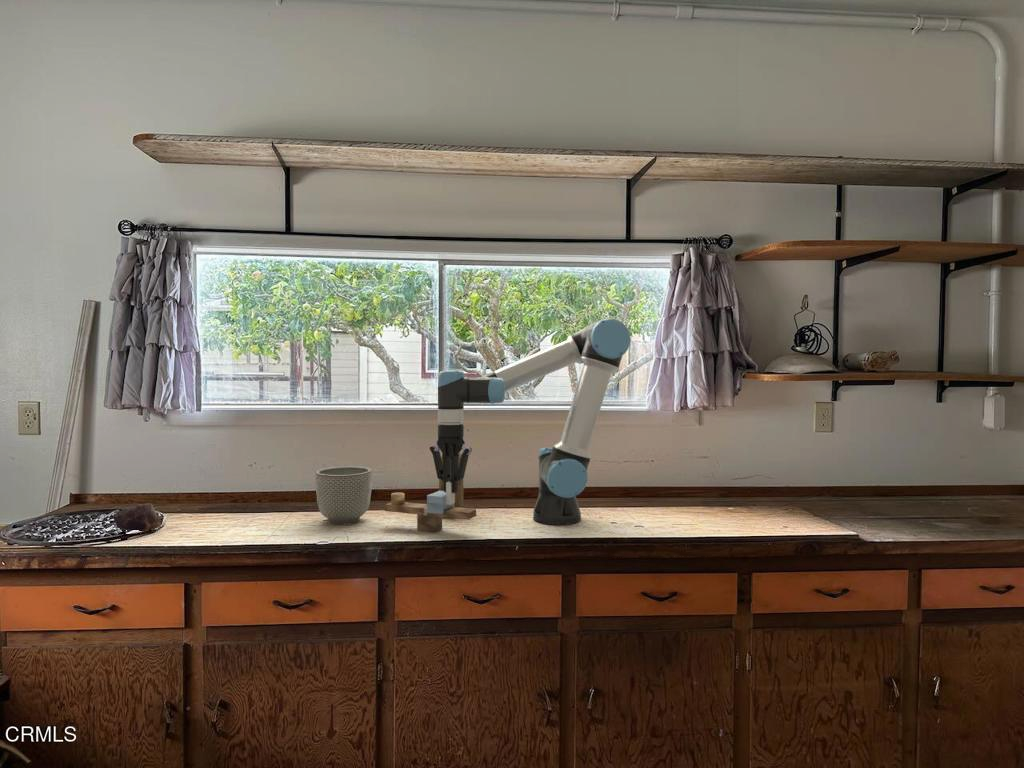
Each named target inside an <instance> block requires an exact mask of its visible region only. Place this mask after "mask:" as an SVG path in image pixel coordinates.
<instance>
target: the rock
mask: <svg viewBox="0 0 1024 768" xmlns="http://www.w3.org/2000/svg"><path fill="white" fill-rule="evenodd" d="M112 519H113V521H114V522H115V525H116V527H117V528H118V527H119V528H120V529H122V530H127V531H129V530H139V531H144V532H143V533H148V532H149V531H148V530H151V529H155V528H156V529H157V528H160V527H162V525H163V523H164V517H163V516H162V515H157V512H156V510H155V507H154V506H153V504H152V503H149V502H148V503H142V504H137V505H136V506H134V507H130V508H124V509H122V510H120V511H119V512H117V513H115V514H114V515H113V516H112ZM156 529H155V530H156ZM147 531H148V532H147Z"/></svg>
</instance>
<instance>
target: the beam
mask: <svg viewBox="0 0 1024 768" xmlns="http://www.w3.org/2000/svg"><path fill="white" fill-rule="evenodd" d="M405 495H406V494H405V493H404V492H400V491H399V492H392V493H391V494H390V496H391V497H390V498H391V499H390V500H391V501H390V502H388V503H386V504H384V512H390V513H401V514H410V515H416V525H417V526H416V527H417V529H416V530H417V532H422V533H423V532H424V533H430V534H431V533H432V534H433V533H434V534H435V533H438V532H439V531H441V530H443V518H446V519H447V518H449V519H459V520H471V519H473V518H474V517H477V508H468V507H463V508H460V507H449V508H447V509H445V510H444V514H436V513H427V503H417V502H408V501H407V502H406V500H405V499H406V498H405V497H406V496H405Z"/></svg>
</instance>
